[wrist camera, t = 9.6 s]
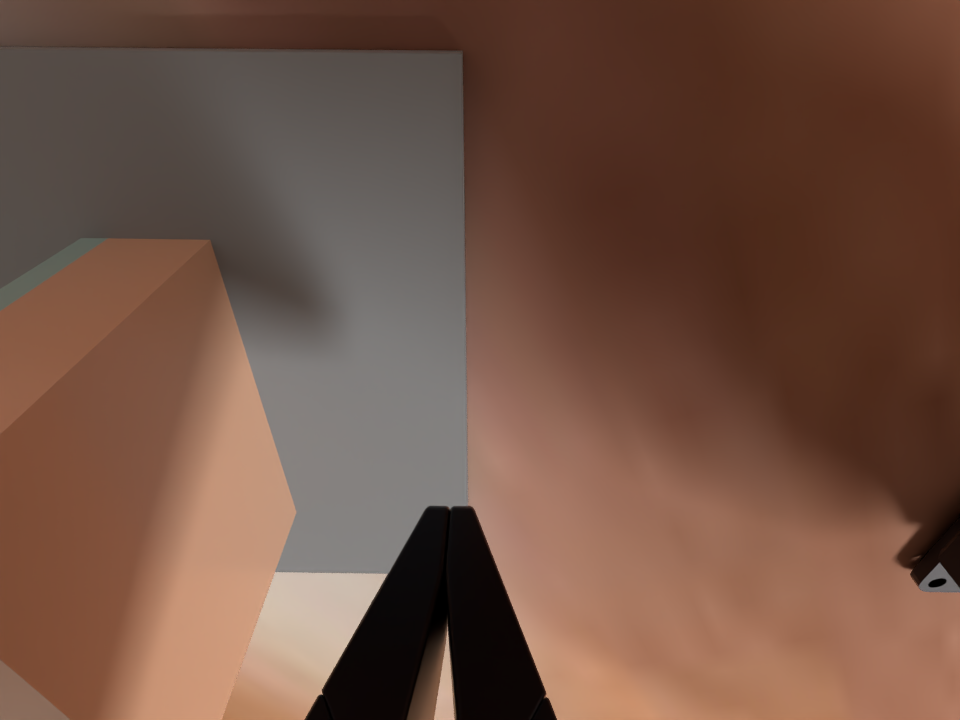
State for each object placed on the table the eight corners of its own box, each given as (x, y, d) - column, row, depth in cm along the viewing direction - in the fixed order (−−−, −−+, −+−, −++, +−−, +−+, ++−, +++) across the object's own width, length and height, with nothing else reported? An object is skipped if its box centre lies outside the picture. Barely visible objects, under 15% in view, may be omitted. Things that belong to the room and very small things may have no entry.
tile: (210, 239, 10) (-126, 550, 4) (296, 512, 14) (185, 818, 9) (81, 237, 10) (-410, 547, 4) (210, 510, 14) (50, 815, 9)
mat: (462, 50, 8) (461, 53, 8) (468, 562, 16) (468, 574, 16) (-547, 41, 8) (-590, 44, 8) (-33, 555, 16) (-44, 567, 16)
